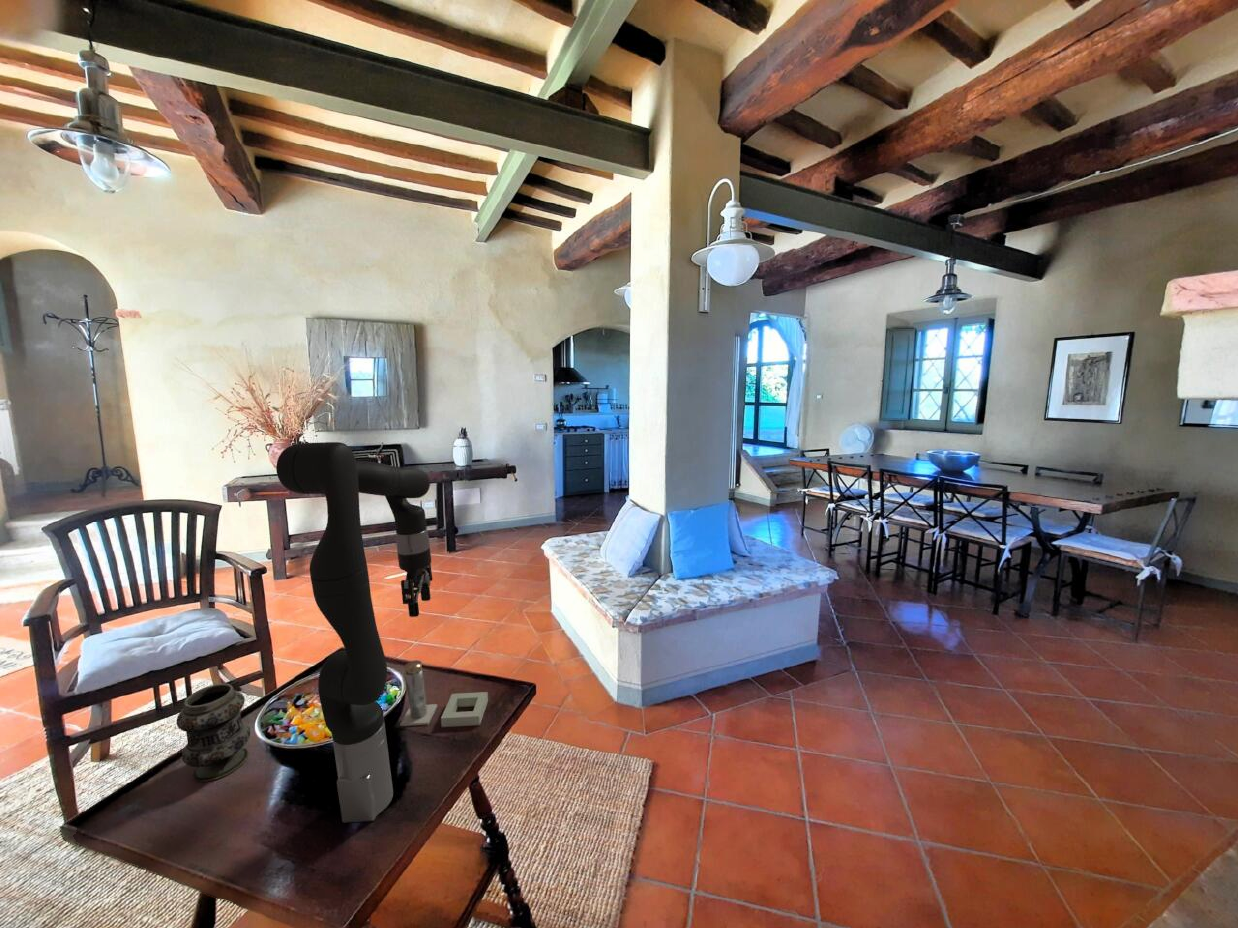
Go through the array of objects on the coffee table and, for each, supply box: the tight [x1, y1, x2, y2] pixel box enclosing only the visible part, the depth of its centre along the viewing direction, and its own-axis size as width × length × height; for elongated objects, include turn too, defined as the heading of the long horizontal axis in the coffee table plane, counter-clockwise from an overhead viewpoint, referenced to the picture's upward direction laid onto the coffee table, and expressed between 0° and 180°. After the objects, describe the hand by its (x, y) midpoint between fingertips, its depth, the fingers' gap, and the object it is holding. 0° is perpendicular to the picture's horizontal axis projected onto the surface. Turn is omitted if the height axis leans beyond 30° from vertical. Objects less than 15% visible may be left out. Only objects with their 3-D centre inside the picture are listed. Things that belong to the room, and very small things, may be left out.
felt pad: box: [399, 703, 438, 727], centre depth 125 cm, size 7×7×1 cm
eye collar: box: [440, 691, 489, 728], centre depth 126 cm, size 10×10×2 cm
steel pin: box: [404, 659, 428, 719], centre depth 124 cm, size 4×4×14 cm
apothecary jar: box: [176, 683, 251, 783], centre depth 109 cm, size 12×12×18 cm
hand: (420, 607), depth 123 cm, fingers open, 8 cm apart
